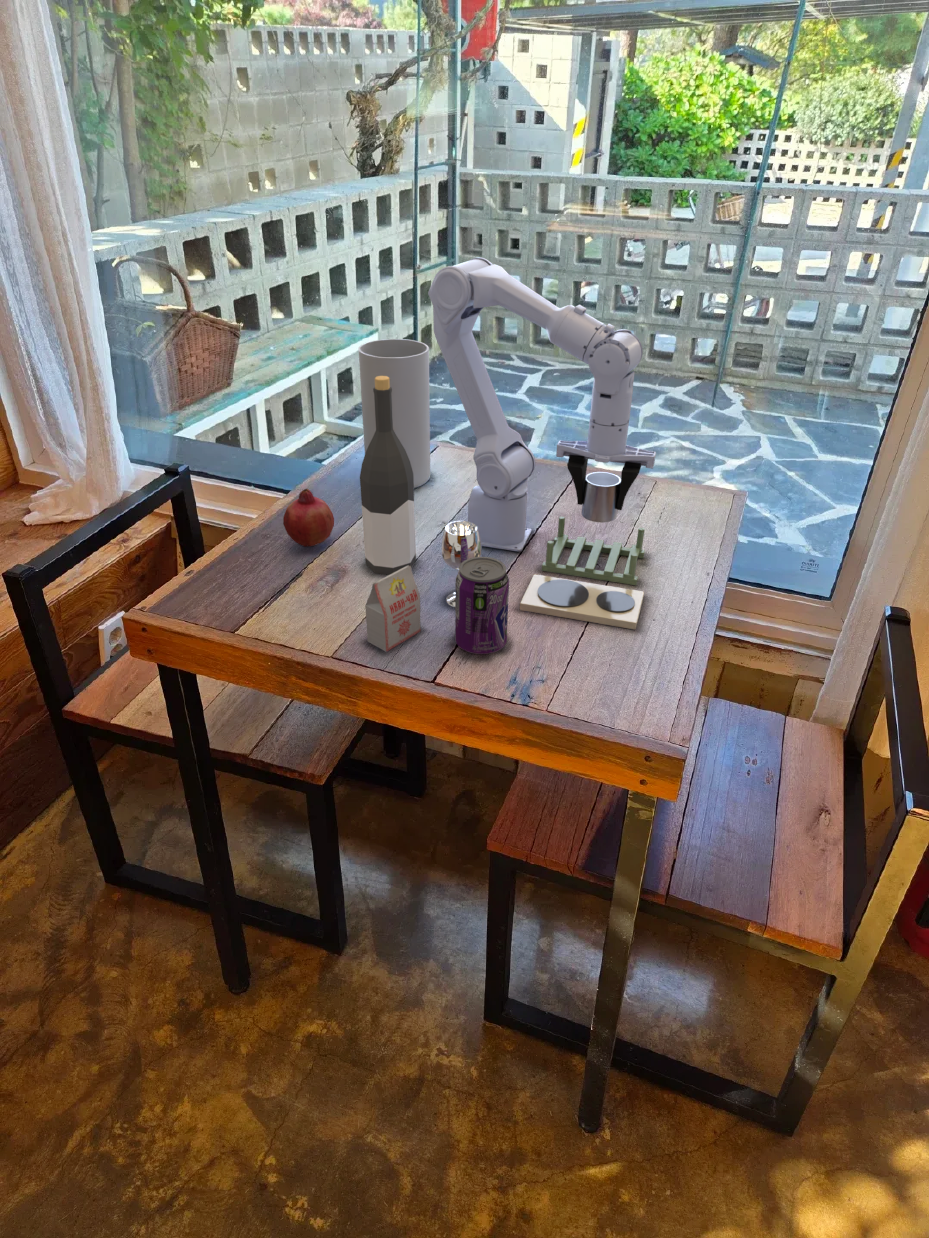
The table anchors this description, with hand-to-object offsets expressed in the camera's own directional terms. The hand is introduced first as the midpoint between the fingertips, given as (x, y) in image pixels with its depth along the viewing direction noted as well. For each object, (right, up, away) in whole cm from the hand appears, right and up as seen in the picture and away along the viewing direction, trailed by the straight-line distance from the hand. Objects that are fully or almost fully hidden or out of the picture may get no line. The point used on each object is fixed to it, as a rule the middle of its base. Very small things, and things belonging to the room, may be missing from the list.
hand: (599, 504), depth 127 cm
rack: (0, -9, +6) cm, 10 cm away
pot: (0, -1, +1) cm, 2 cm away
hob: (-3, -15, -5) cm, 17 cm away
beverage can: (-19, -21, -14) cm, 31 cm away
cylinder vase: (-34, +10, +33) cm, 48 cm away
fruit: (-47, -5, +10) cm, 48 cm away
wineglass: (-21, -15, -4) cm, 27 cm away
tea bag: (-31, -20, -12) cm, 39 cm away
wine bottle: (-33, -9, +5) cm, 34 cm away
